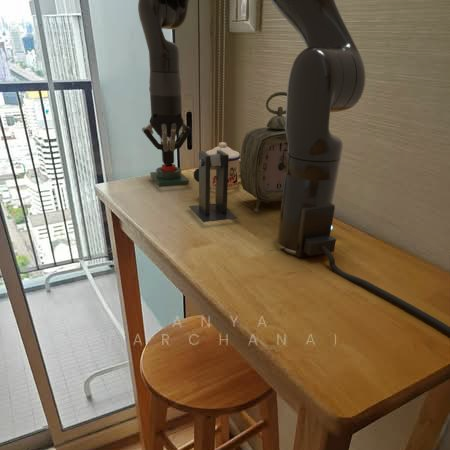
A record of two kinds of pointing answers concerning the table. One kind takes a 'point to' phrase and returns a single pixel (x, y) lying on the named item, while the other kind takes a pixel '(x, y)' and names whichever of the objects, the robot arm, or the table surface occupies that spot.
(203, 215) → the bracket
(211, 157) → the lever
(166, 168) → the button
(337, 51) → the robot arm
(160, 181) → the button box
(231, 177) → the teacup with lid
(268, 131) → the tabletop clock
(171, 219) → the table surface
